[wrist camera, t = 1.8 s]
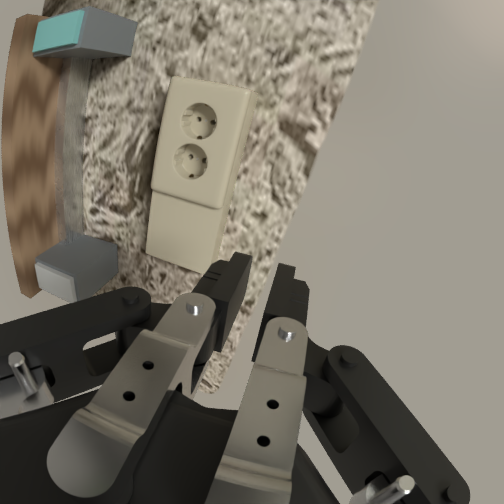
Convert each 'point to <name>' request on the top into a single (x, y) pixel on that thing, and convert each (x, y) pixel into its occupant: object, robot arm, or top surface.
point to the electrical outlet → (196, 169)
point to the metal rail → (70, 147)
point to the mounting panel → (29, 151)
